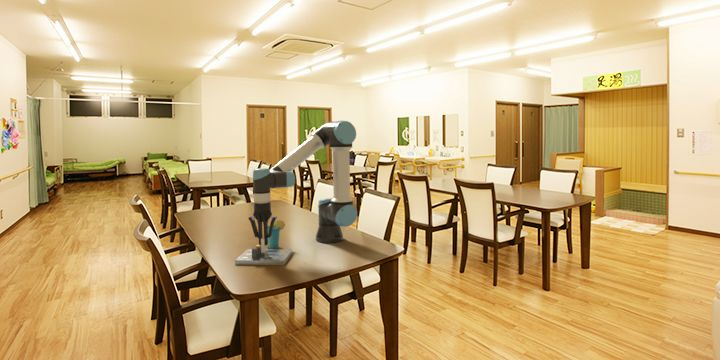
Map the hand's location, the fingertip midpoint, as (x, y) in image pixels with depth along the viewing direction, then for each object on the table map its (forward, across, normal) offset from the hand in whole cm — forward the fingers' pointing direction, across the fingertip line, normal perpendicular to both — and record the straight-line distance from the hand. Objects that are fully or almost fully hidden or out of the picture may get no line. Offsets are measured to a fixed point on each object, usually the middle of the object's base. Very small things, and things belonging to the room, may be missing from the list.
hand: (263, 251), depth 186 cm
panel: (+3, 0, 0) cm, 3 cm away
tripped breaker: (+1, +2, 0) cm, 3 cm away
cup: (+4, +2, -19) cm, 19 cm away
